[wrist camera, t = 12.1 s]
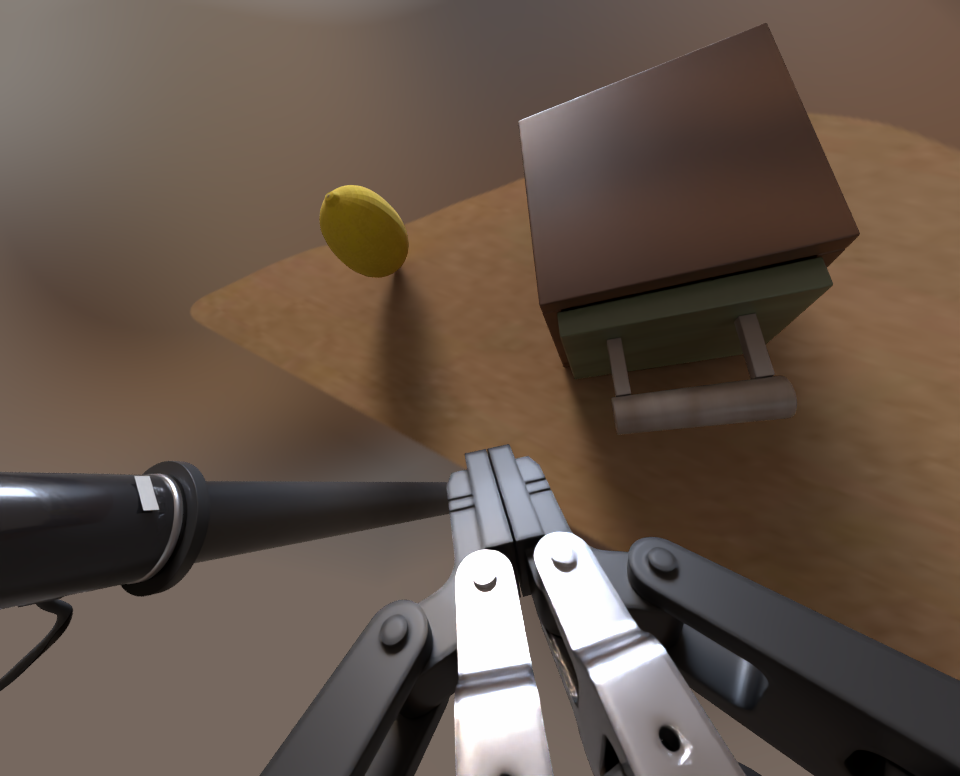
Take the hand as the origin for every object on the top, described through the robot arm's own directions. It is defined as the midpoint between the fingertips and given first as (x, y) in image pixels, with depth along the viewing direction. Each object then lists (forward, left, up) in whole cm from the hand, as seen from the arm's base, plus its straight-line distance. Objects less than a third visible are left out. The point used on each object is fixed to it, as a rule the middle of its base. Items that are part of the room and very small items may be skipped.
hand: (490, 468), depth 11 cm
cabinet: (+11, +9, -11) cm, 18 cm away
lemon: (-4, +21, -11) cm, 24 cm away
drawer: (+10, +5, -10) cm, 15 cm away
